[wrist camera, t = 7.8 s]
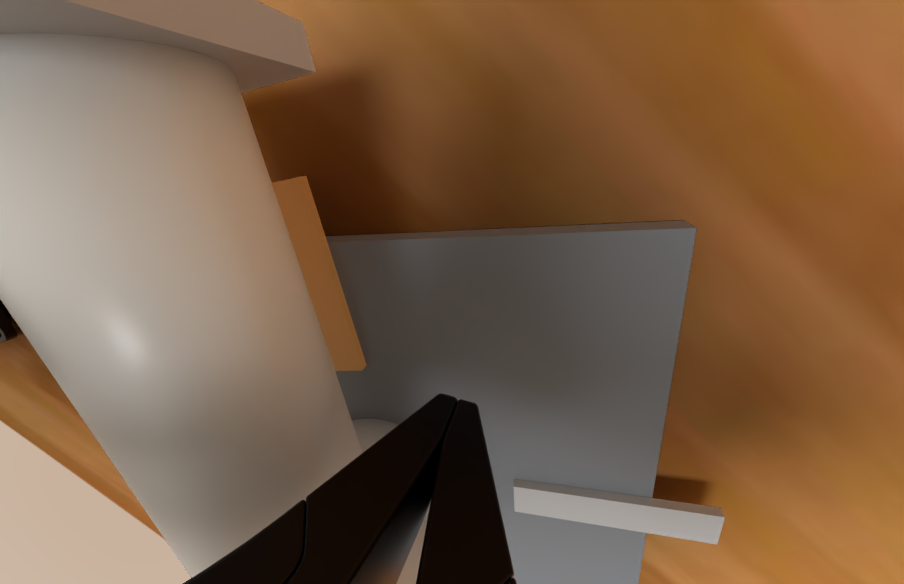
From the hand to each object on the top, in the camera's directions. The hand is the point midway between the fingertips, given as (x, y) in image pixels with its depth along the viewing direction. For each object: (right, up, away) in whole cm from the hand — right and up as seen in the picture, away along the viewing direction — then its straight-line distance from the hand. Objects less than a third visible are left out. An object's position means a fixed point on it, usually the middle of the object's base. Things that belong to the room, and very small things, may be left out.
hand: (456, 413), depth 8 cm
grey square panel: (-2, -3, +6) cm, 7 cm away
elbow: (-4, 0, +3) cm, 5 cm away
